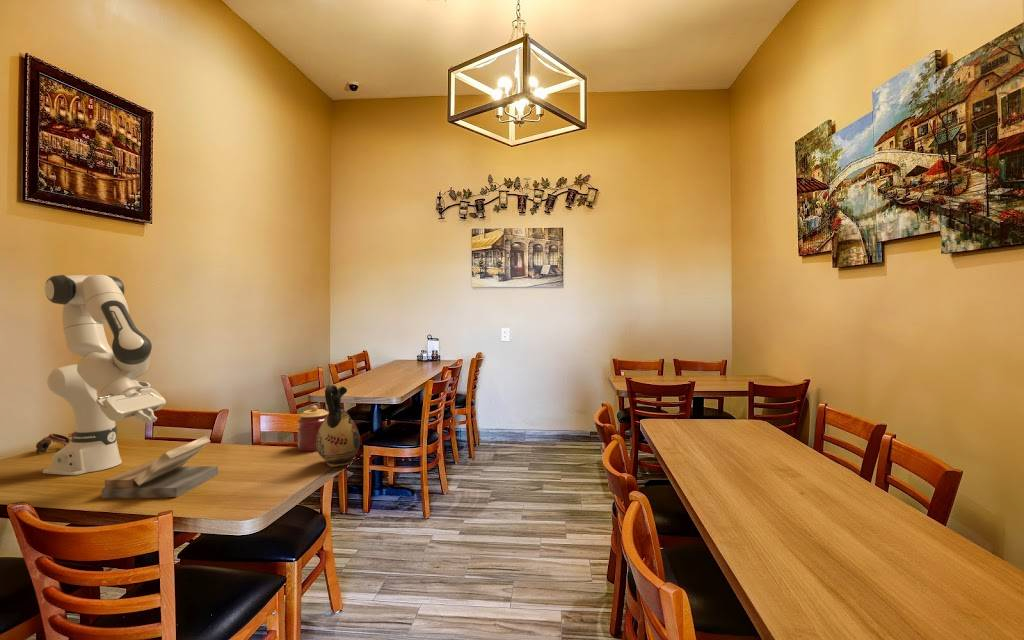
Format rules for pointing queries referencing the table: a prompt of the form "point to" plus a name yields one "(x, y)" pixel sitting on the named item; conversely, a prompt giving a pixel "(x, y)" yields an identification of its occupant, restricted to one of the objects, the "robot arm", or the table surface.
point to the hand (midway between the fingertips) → (152, 421)
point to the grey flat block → (157, 482)
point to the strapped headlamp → (46, 442)
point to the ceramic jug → (337, 431)
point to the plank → (171, 460)
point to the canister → (310, 428)
